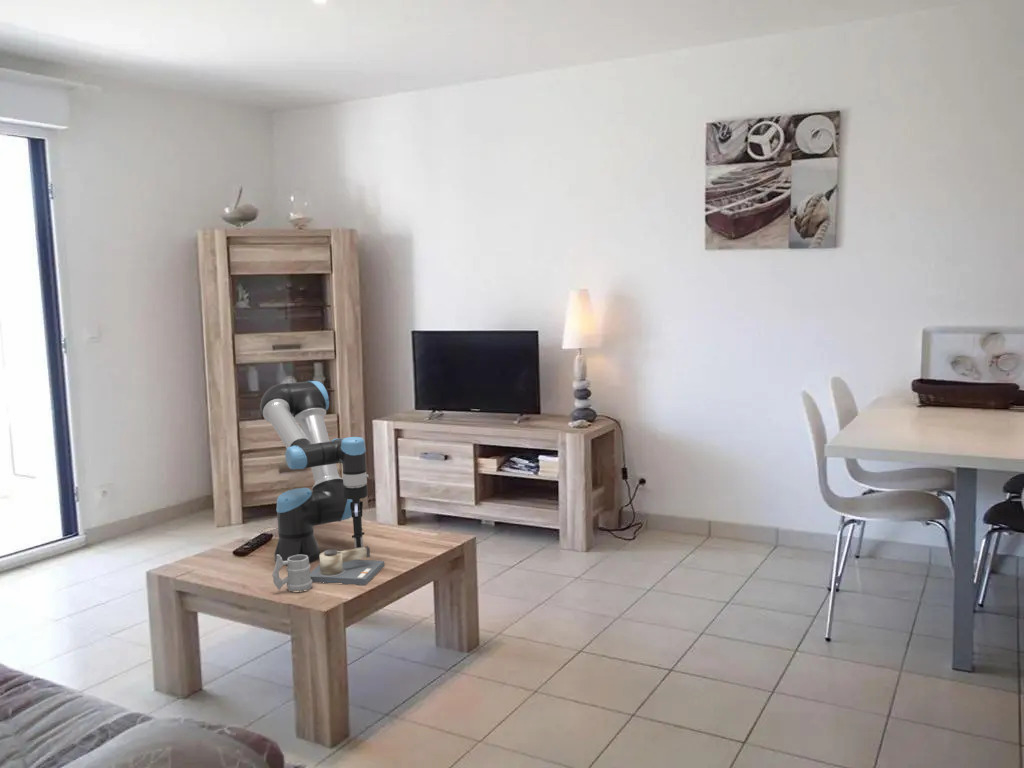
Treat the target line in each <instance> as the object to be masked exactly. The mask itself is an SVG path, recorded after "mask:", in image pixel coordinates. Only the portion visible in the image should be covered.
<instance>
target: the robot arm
mask: <svg viewBox="0 0 1024 768" xmlns="http://www.w3.org/2000/svg"><path fill="white" fill-rule="evenodd" d="M328 394H329V393H328V390H327V389H326V387H325V385H324V384H323V383H322V382H321V381H319V380H318V381H317V380H306V381H298V382H288V383H287V382H286V383H278V384H275V385H272V386H270V387H269V388H268V389H267V390H266V391H265V393H264V394H263V395H262V397H261V400H260V404H259V408H260V409H259V410H260V412H261V415H262V417H263V418H264V420H265V421H266V422H268V423H270V424H271V425H272V427H273V429H274V431H275V432H276V433H277V436H278V437H279V438H280V440H281V442H282V443H283V445H284V446H285V448H286V449H285V454H284V455H285V462H286V465H287V467H288V468H289V469H290V470H303V469H308V468H310V469H311V472H312V476H313V480H314V484H313V486H312V487H311V489H310V488H308V487H301V488H300V487H299V488H293V489H288V490H287V491H284V492H282V493H281V494H279V495H278V496H277V499H276V508H275V509H276V516H277V531H278V541H277V545H276V548H275V552H274V561H276V560H277V554H278V555H280V556H281V557H282V560H283V561H287V559H288V558H289V557H291V556H294V555H307V556H308V557H309V564H310V563H312V562H315V561H317V560H319V559H320V556H319V555H320V554H321V549H320V546H319V543H318V541H317V539H316V536H315V534H314V527H315V526H319V525H324V524H331V523H335V522H338V523H339V522H341V521H346V520H349V519H351V518H352V525H353V526H352V527H353V535H352V536H351V538H352V539H353V543H354V549H356V548H361V547H364V539H363V537H364V536H365V531H364V532H363V523H362V521H363V520H362V517H363V509H364V508H363V506H364V503H363V502H364V501H361V499H365V498H367V497H368V495H369V494H368V485H367V483H368V479H367V478H369V474H367V459H366V458H367V456H366V454H367V453H366V450H367V449H366V444H365V439H364V438H363V437H360V436H349V437H344V438H341V437H340V438H337V437H336V438H334V439H331V440H330V438H329V434H328V430H327V426H326V423H325V422H326V421H325V419H324V417H325V416H326V414H327V411H328V410H329V406H330V401H329V395H328ZM337 464H341V465H342V477H340V475H339V470H338V467H337Z"/></svg>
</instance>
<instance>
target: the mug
mask: <svg viewBox="0 0 1024 768" xmlns="http://www.w3.org/2000/svg"><path fill="white" fill-rule="evenodd" d="M283 566H287V567H286V572H287V576H286V577H284V578H282V579H281V577H280V570H281V569H282V567H283ZM310 572H311V564H310V563H309V557H308V556H307V555H294V556H291V557H289V558H288V559H287V561H283V560H282V557H281V556H280V555H278V554H277V560H276V562H275V565H274V568H273V572H272V579H273V580H272V581H273V584H274V587H276V589H277V590H280V589H281V588H283V586H284V585H286V587H287V590H290V591H299V592H300V591H304V590H308V589H310V588H311V589H312V584H313V583H312V579H311V577H310ZM311 589H310V590H311ZM290 591H289V592H290ZM308 591H309V590H308ZM300 593H301V592H300Z"/></svg>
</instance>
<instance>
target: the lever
mask: <svg viewBox="0 0 1024 768" xmlns="http://www.w3.org/2000/svg"><path fill="white" fill-rule="evenodd" d="M319 556H320V557H319V565H320V572H321V574H323V575H336V574H339V573H341V572H342V571H343V562H346V561H351V560H363V559H367V558H371V550H370V547H369V546H368V545H366V546H363V547H361V548H356V549H355V548H352V549H345V550H340V551H339V550H338V549H336V548H329V549H325V550H324V551H323V552H320V555H319Z"/></svg>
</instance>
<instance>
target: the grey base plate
mask: <svg viewBox="0 0 1024 768" xmlns="http://www.w3.org/2000/svg"><path fill="white" fill-rule="evenodd" d="M384 566H385V560H376V559H375V560H374V559H373V560H371V559H369V560H368V559H357V560H351V561H346V562H343V571H342V572H341V573H339V574H336V575H323V574H321V572H320V564H318V566H316V567H315V568H313V569H312V570H310V577H311V579H312V582H318V583H317V584H328V583H342V584H341V585H348V584H356V585H355V586H367V585H368V584H369V582H370V581H372V580H373V577H374V576H375V575H376V574H377V573H378V572H379V571H380V570H381V569H382V568H383V567H384ZM384 568H385V567H384ZM384 568H383V569H384ZM383 569H382V570H383ZM382 570H381V571H382ZM381 571H380V572H381ZM380 572H379V573H380ZM379 573H378V574H379ZM378 574H377V575H378ZM377 575H376V576H377ZM374 578H375V577H374ZM319 582H321V583H319ZM323 582H324V583H323Z"/></svg>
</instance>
